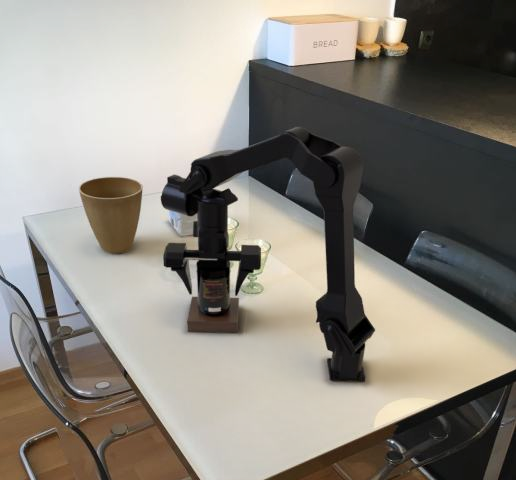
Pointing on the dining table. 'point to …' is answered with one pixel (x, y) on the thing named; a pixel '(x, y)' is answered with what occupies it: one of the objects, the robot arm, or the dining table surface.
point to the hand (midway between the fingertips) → (213, 294)
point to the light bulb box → (182, 223)
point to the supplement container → (213, 287)
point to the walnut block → (213, 319)
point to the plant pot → (112, 211)
